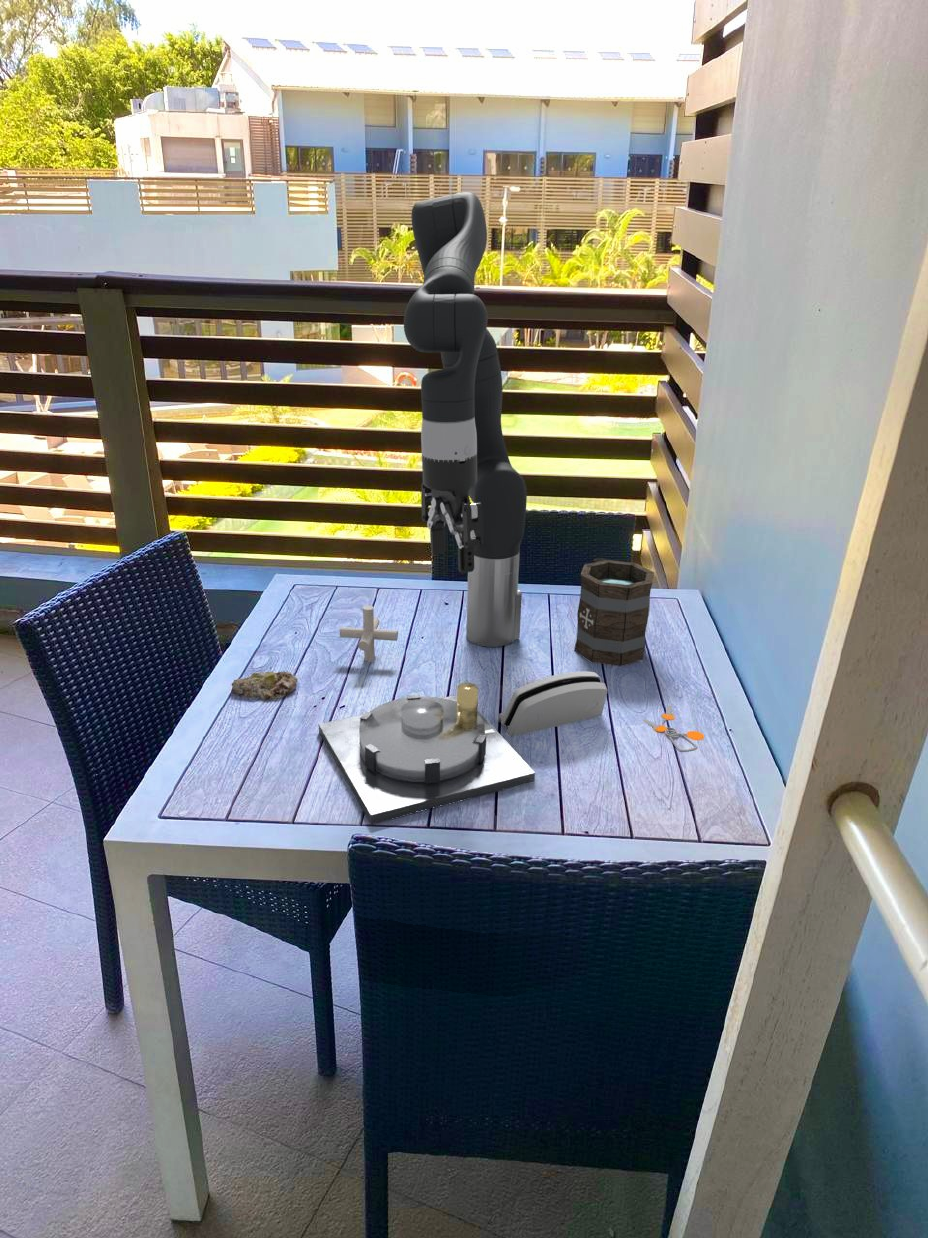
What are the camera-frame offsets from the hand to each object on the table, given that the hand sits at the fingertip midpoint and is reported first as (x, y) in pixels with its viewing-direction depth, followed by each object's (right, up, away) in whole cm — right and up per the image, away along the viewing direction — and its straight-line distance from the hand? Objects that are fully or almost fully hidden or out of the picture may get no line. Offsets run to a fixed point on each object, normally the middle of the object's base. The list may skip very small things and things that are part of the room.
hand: (452, 562), depth 124 cm
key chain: (+34, -26, +10) cm, 44 cm away
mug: (+28, -13, +38) cm, 49 cm away
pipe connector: (-15, -15, +29) cm, 36 cm away
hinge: (+16, -25, +11) cm, 31 cm away
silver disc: (-4, -26, +1) cm, 27 cm away
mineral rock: (-31, -20, +19) cm, 42 cm away
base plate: (-4, -28, +2) cm, 28 cm away
